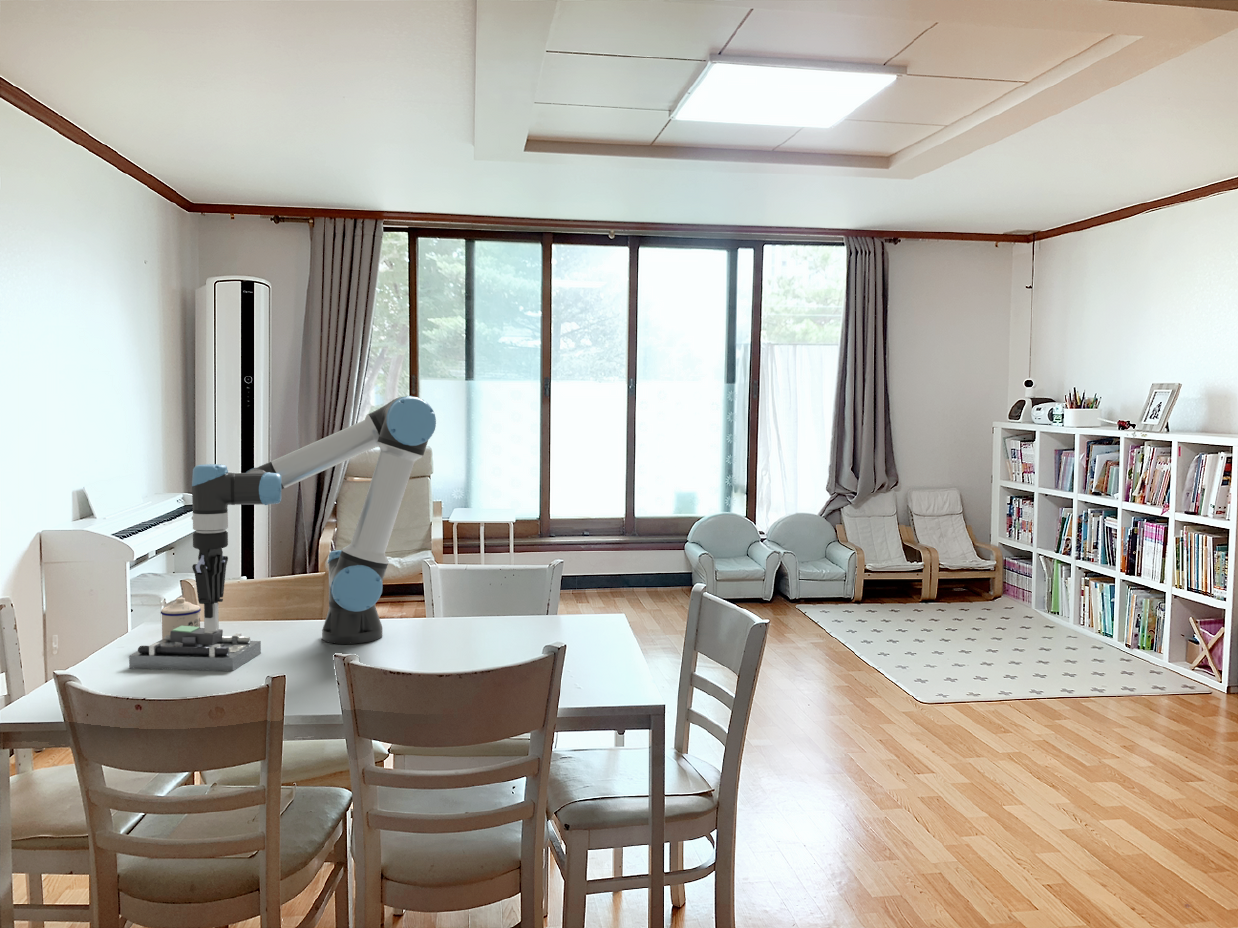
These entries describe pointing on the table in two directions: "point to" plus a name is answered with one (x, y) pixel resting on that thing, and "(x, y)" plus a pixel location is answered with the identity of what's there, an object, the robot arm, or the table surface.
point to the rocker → (196, 635)
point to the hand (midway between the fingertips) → (211, 630)
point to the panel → (196, 659)
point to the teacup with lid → (179, 616)
